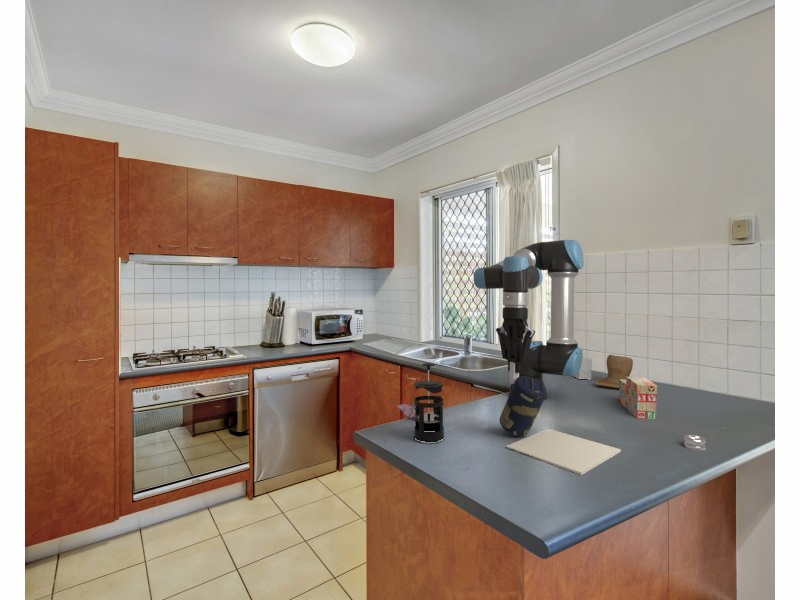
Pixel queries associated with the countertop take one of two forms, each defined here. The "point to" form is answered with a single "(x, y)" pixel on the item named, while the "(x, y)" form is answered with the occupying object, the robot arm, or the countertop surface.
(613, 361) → the brown wooden stand
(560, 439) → the mat
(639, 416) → the stack of blocks
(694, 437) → the grooved metal pulley
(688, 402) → the countertop surface
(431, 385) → the french press
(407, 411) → the rabbit figure
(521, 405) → the canister
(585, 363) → the skincare box
